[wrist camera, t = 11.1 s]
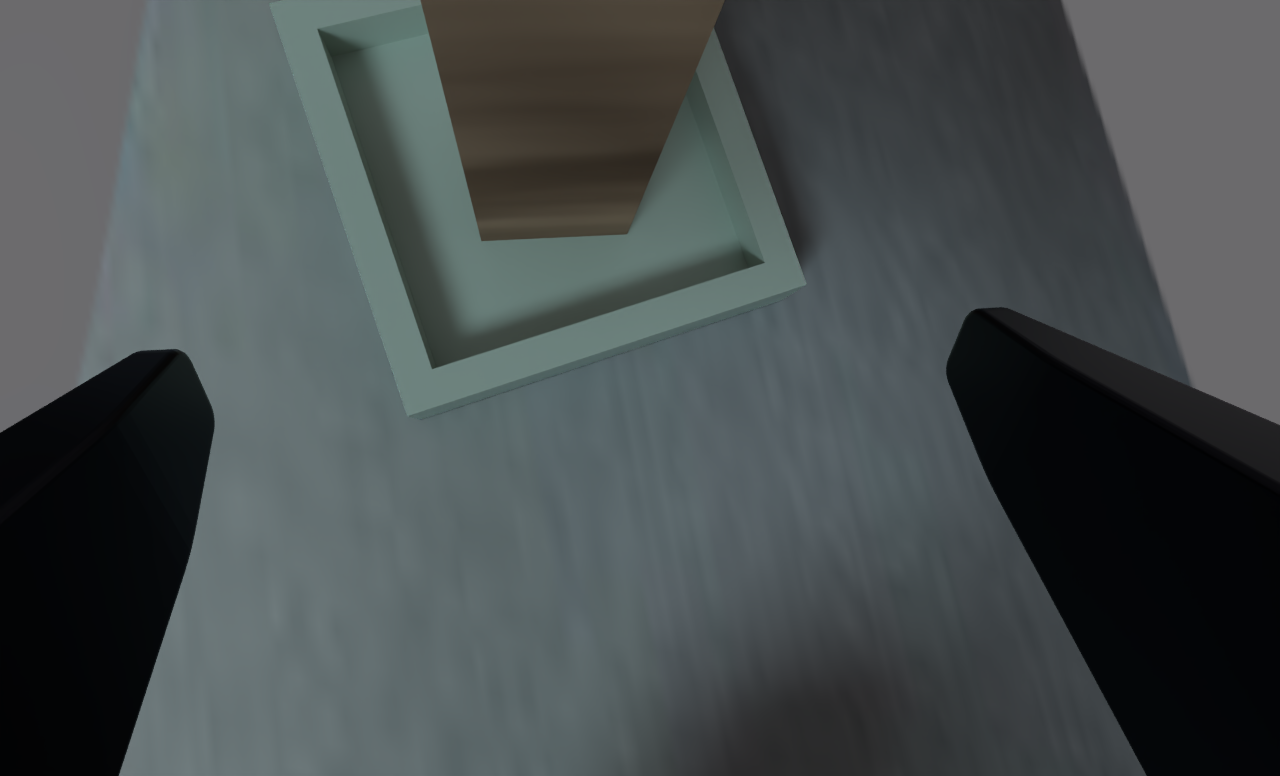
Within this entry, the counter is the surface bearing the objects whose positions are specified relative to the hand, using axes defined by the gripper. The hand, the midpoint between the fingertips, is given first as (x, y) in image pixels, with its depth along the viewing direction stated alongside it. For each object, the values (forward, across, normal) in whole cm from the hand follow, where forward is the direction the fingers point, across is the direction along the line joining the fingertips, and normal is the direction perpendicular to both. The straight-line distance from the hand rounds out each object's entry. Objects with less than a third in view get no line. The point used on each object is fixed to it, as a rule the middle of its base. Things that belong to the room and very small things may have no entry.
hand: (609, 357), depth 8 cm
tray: (+15, 0, +4) cm, 16 cm away
